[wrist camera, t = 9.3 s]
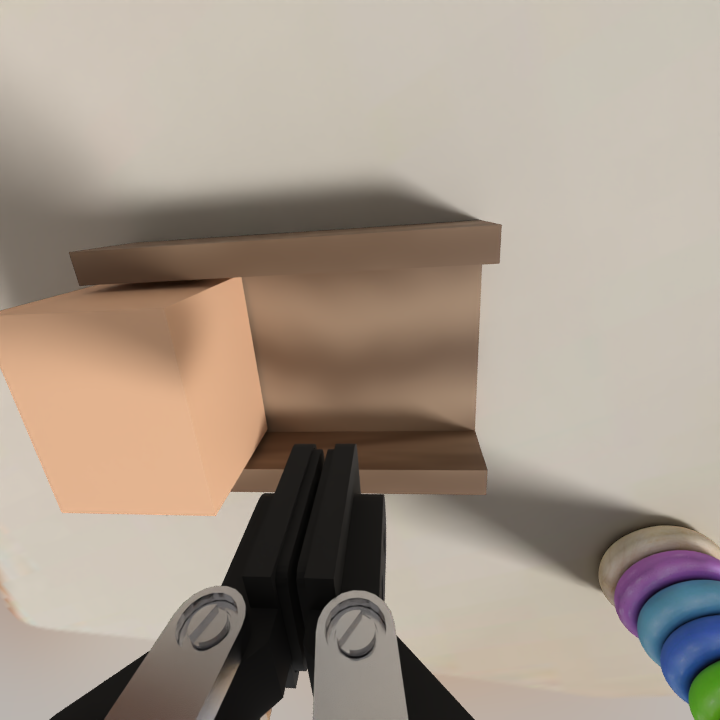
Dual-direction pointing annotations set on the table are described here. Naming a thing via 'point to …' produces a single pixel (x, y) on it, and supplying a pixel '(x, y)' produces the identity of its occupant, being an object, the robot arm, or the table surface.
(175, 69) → the table surface
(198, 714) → the robot arm
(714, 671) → the stacking toy
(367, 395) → the chute
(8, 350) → the block
